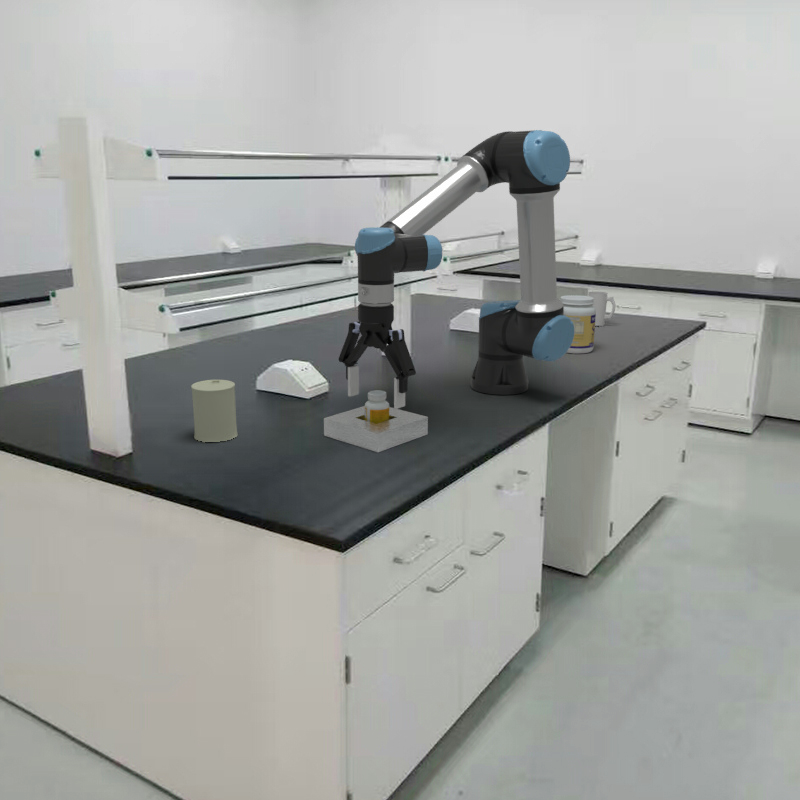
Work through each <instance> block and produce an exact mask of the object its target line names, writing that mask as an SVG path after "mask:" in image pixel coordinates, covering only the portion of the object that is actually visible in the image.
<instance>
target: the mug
mask: <svg viewBox="0 0 800 800" xmlns="http://www.w3.org/2000/svg"><path fill="white" fill-rule="evenodd" d="M587 292H588V295H587V296H589V297H593V298H594V304H593V305H592V306H593V307H595V309H596V318H595V325H604V326H605V325H606V324H605V322H606V320H607V319H608V320H611V319H612V317H613V315H614V314H615V312H616V302H615V299H614V296H609V297H608V295H609V294H608V292H606V291H600V290H599V291H594V290H593V291H587ZM608 302H610V303H611V305H612V308H611V312H610V313H609V314H607V313H606V312H607V303H608Z"/></svg>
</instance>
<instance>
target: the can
mask: <svg viewBox="0 0 800 800" xmlns="http://www.w3.org/2000/svg"><path fill="white" fill-rule="evenodd" d="M190 387H191V393H192V394H191V395H192V396H191V397H192V398H191V399H192V406H193V407H192V410H193V412H192V413H193V423H194V426H193V427H194V428H193V429H194V435H193V437H194V440H195V441H197V440H198V442H200V441H202V442H201V443H205V442H220V441H226V442H228V441H227V440H230V441H232V440H234V439H236V438H237V437H238V434H239V433H238V427H237V412H236V411H237V410H236V383H235V382H233V381H232V380H227V379H207V380H206V379H205V380H199V381H197V382H194V383H193V384H191V385H190ZM235 437H236V438H235ZM233 438H234V439H233ZM231 439H232V440H231ZM220 443H221V442H220Z"/></svg>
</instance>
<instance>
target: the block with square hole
mask: <svg viewBox="0 0 800 800" xmlns="http://www.w3.org/2000/svg"><path fill="white" fill-rule="evenodd" d="M428 427H429V417H428V416H427V415H426V416H425V415H422V414H418V413H415V412H410V411H407V410H402V409H400V408H397V409H396V408H394V407H391V406H389V420H387V421H384V422H381V423H378V424H375V423H372V422H368V421H365V405H362V406H360V407H356V408H353V409H350V410H347V411H344V412H339V413H337V414H334V415H330V416H327V417H324V418H323V436H324V437H328V438H329V439H330V438H331V439H333V440H337V441H340V442H343V443H347V444H349V445H352V446H355V447H359V448H362V449H365V450H369V451H372V452H374V453H380V452H383V451H385V450H389V449H391V448H394V447H396V446H399V445H402V444H404V443H408V442H411V441H413V440H415V439H419V438H422V437H424V436H427V435H428V434H429V430H428V429H429V428H428Z"/></svg>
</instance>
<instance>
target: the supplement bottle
mask: <svg viewBox="0 0 800 800" xmlns="http://www.w3.org/2000/svg"><path fill="white" fill-rule="evenodd" d="M386 399H387V391H385V390H379V389H376V390H375V389H374V390H369V391H368V392H367V401H366V402H365V403H364V406H365V421H368V422H372V423H375V424H378V423H381V422H384V421H387V420H389V407H390V403H389V401H388V400H386Z"/></svg>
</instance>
